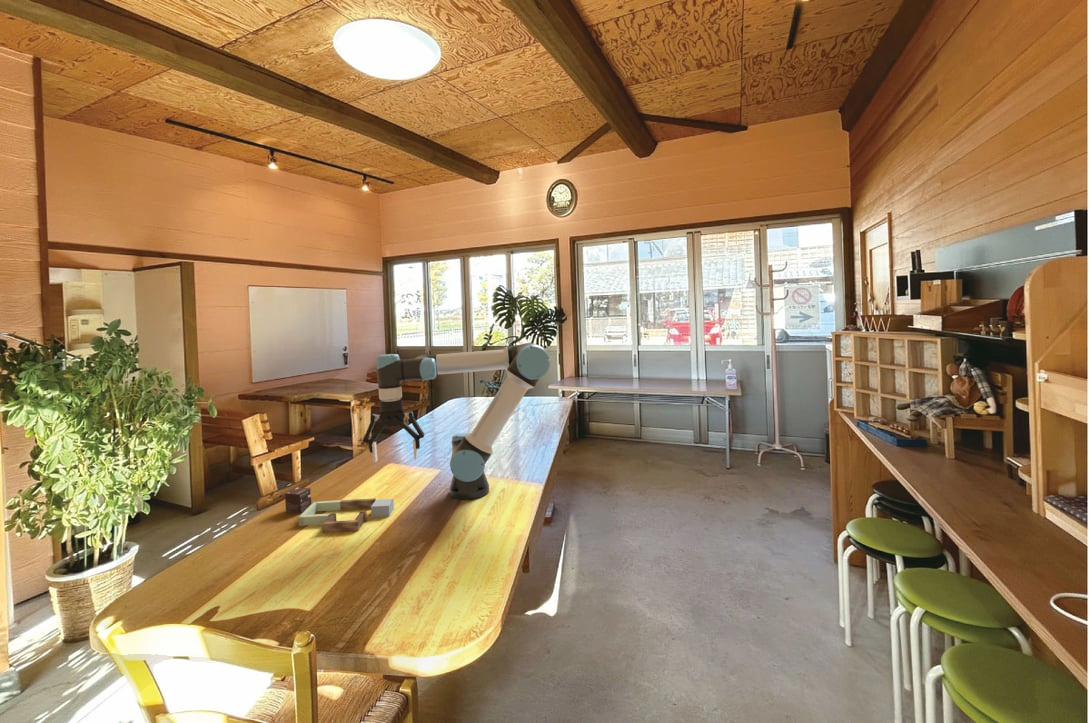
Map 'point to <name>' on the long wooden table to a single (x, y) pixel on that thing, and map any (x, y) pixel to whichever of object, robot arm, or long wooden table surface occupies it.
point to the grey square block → (382, 508)
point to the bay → (317, 519)
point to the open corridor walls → (351, 525)
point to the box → (297, 500)
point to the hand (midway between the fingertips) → (395, 459)
